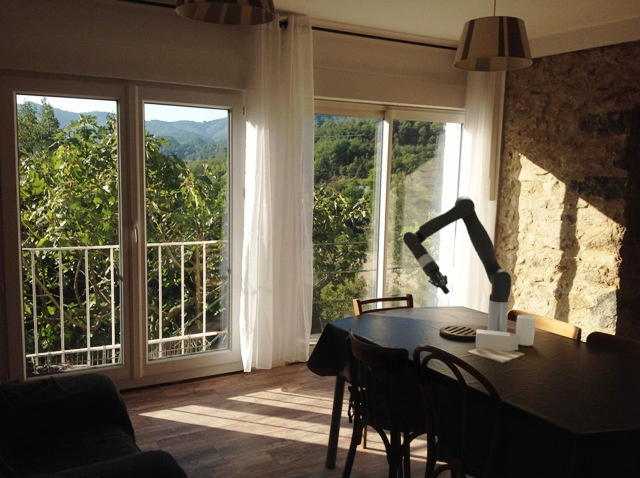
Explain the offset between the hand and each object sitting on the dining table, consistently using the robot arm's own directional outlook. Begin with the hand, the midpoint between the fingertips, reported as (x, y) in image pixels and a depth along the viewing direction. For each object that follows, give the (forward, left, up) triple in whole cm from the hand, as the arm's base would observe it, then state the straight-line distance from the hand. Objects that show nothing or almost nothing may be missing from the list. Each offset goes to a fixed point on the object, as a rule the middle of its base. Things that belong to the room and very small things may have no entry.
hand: (447, 293), depth 274 cm
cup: (-24, +29, -24) cm, 44 cm away
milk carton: (-2, +16, -19) cm, 25 cm away
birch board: (-1, +28, -23) cm, 36 cm away
